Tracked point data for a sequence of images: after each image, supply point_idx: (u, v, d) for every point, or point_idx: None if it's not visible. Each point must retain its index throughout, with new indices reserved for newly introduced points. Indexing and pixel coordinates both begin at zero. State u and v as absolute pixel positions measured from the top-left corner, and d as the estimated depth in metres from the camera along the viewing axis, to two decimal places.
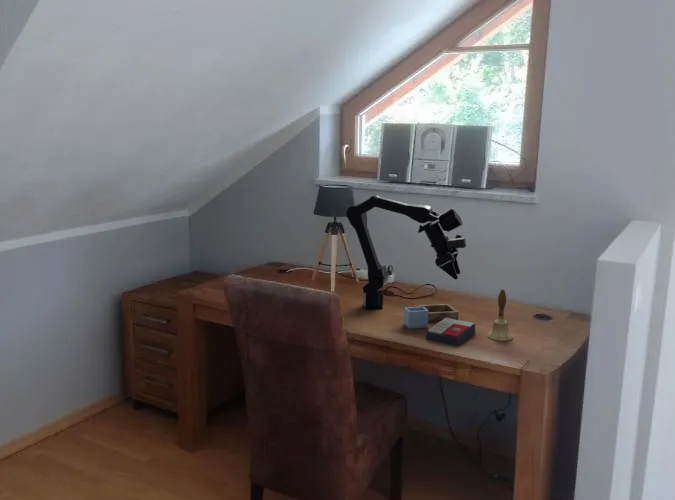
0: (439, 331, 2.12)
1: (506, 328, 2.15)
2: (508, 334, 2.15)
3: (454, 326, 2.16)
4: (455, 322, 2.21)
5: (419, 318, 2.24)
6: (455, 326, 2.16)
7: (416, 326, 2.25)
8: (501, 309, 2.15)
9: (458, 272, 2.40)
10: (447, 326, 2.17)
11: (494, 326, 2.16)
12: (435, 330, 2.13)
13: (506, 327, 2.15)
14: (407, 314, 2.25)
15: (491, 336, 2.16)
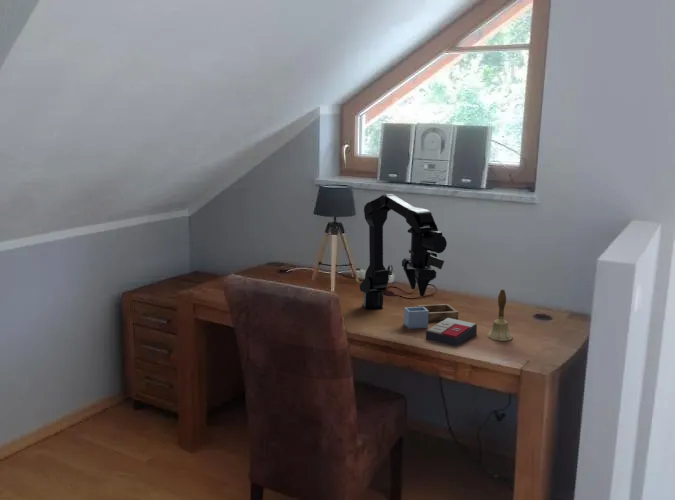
0: (438, 331, 2.13)
1: (506, 328, 2.15)
2: (508, 334, 2.15)
3: (455, 326, 2.16)
4: (456, 322, 2.20)
5: (419, 318, 2.24)
6: (456, 327, 2.16)
7: (416, 326, 2.25)
8: (501, 309, 2.15)
9: (413, 287, 2.29)
10: (447, 326, 2.17)
11: (494, 326, 2.16)
12: (435, 330, 2.14)
13: (506, 327, 2.15)
14: (407, 314, 2.25)
15: (491, 336, 2.16)
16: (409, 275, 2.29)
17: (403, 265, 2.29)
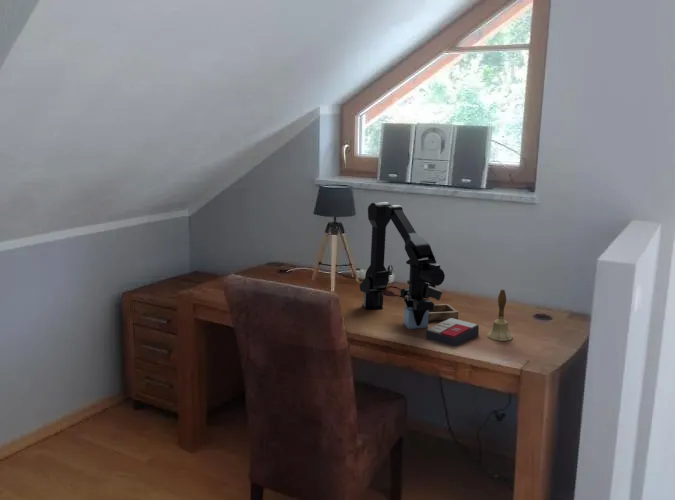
0: (438, 330, 2.13)
1: (506, 328, 2.15)
2: (508, 334, 2.15)
3: (455, 326, 2.16)
4: (458, 322, 2.20)
5: None
6: (456, 327, 2.16)
7: (416, 326, 2.25)
8: (501, 309, 2.15)
9: None
10: (448, 326, 2.17)
11: (494, 326, 2.16)
12: (434, 329, 2.14)
13: (506, 327, 2.15)
14: (407, 314, 2.25)
15: (491, 336, 2.16)
16: None
17: (402, 295, 2.31)
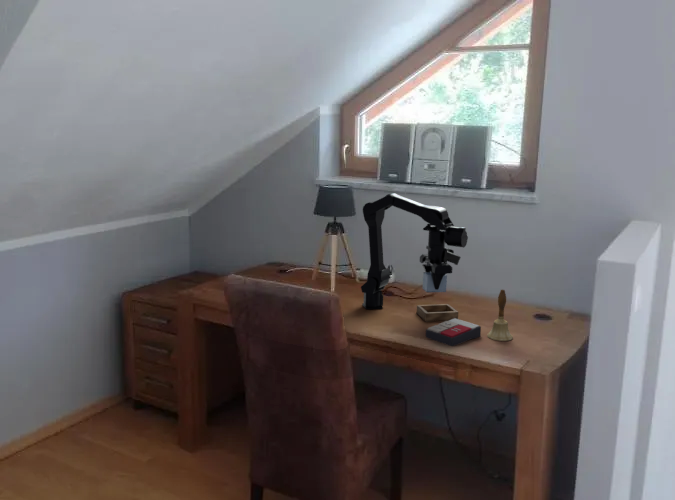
0: (437, 330, 2.13)
1: (506, 328, 2.15)
2: (508, 334, 2.15)
3: (456, 326, 2.16)
4: (461, 323, 2.20)
5: None
6: (457, 327, 2.15)
7: (434, 290, 2.31)
8: (501, 309, 2.15)
9: None
10: (449, 326, 2.17)
11: (494, 326, 2.16)
12: (434, 329, 2.15)
13: (506, 327, 2.15)
14: (426, 278, 2.31)
15: (491, 336, 2.16)
16: None
17: (421, 261, 2.38)
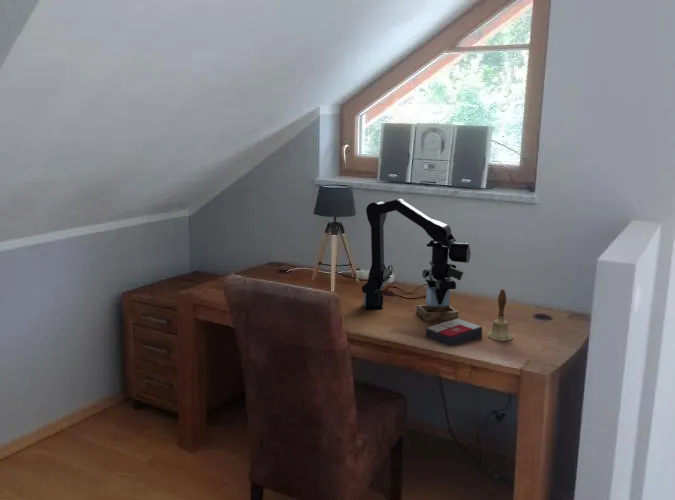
0: (437, 329, 2.14)
1: (506, 328, 2.15)
2: (508, 334, 2.15)
3: (457, 327, 2.16)
4: (462, 323, 2.19)
5: None
6: (458, 327, 2.15)
7: (438, 305, 2.35)
8: (501, 309, 2.15)
9: None
10: (450, 326, 2.17)
11: (494, 326, 2.16)
12: (434, 328, 2.15)
13: (506, 327, 2.15)
14: (429, 293, 2.35)
15: (491, 336, 2.16)
16: None
17: (423, 276, 2.41)
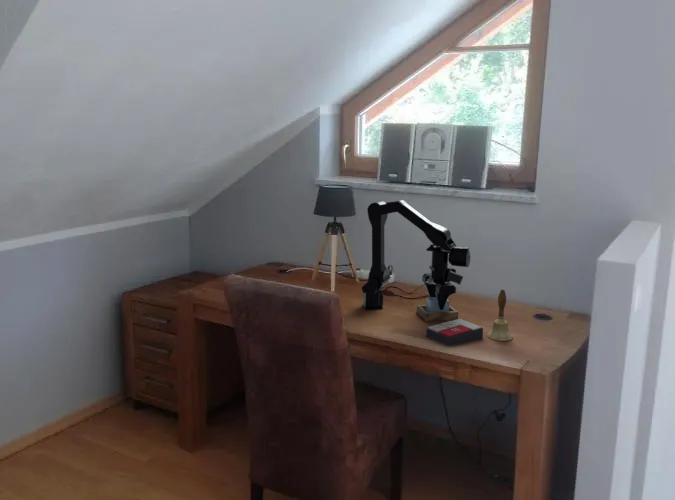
0: (437, 329, 2.14)
1: (506, 328, 2.15)
2: (508, 334, 2.15)
3: (457, 327, 2.16)
4: (463, 324, 2.19)
5: None
6: (458, 327, 2.15)
7: None
8: (501, 309, 2.15)
9: None
10: (450, 326, 2.17)
11: (494, 326, 2.16)
12: (434, 328, 2.15)
13: (506, 327, 2.15)
14: (429, 304, 2.35)
15: (491, 336, 2.16)
16: (429, 290, 2.40)
17: (423, 280, 2.42)
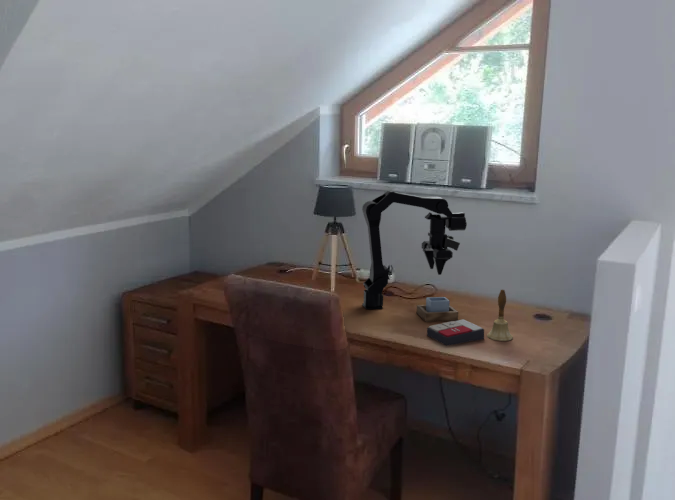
0: (437, 329, 2.15)
1: (506, 328, 2.15)
2: (508, 334, 2.15)
3: (458, 327, 2.15)
4: (465, 324, 2.18)
5: (440, 307, 2.35)
6: (458, 328, 2.15)
7: None
8: (501, 309, 2.15)
9: (432, 267, 2.54)
10: (451, 326, 2.17)
11: (494, 326, 2.16)
12: (435, 327, 2.16)
13: (506, 327, 2.15)
14: (429, 304, 2.35)
15: (491, 336, 2.16)
16: (428, 256, 2.53)
17: (423, 247, 2.54)
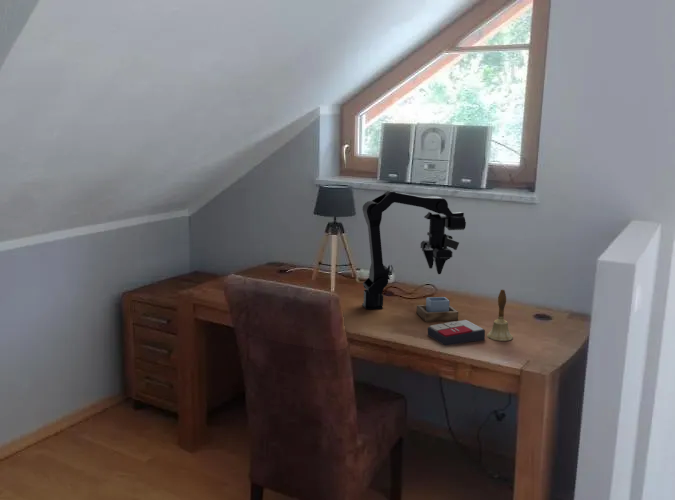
0: (437, 328, 2.15)
1: (506, 328, 2.15)
2: (508, 334, 2.15)
3: (458, 327, 2.15)
4: (467, 325, 2.18)
5: (440, 307, 2.35)
6: (459, 328, 2.15)
7: None
8: (501, 309, 2.15)
9: (431, 266, 2.55)
10: (452, 326, 2.17)
11: (494, 326, 2.16)
12: (435, 327, 2.16)
13: (506, 327, 2.15)
14: (429, 304, 2.35)
15: (491, 336, 2.16)
16: (427, 256, 2.54)
17: (422, 247, 2.55)
